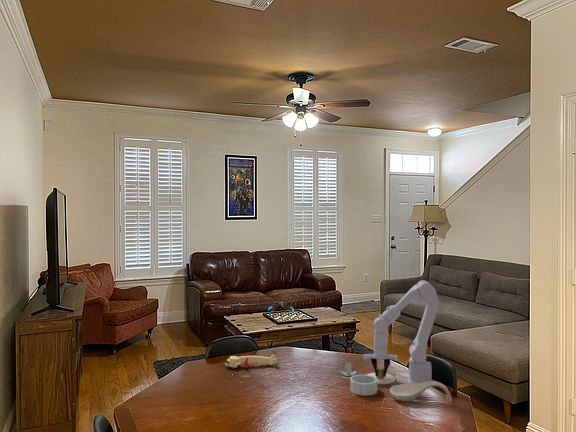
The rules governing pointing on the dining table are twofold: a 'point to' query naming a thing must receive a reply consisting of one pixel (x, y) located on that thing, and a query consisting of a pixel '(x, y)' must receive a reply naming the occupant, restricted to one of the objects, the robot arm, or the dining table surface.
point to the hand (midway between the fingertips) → (380, 375)
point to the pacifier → (348, 371)
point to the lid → (381, 378)
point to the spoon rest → (415, 390)
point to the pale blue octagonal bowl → (363, 385)
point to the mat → (387, 384)
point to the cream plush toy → (251, 360)
